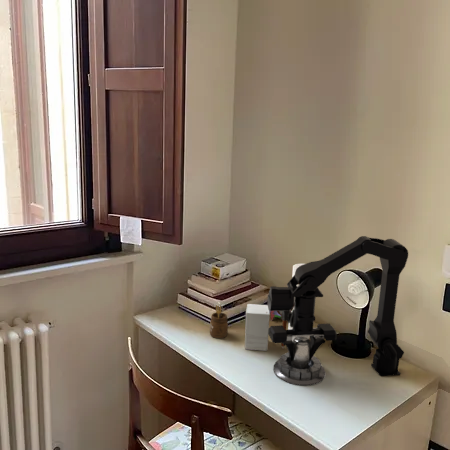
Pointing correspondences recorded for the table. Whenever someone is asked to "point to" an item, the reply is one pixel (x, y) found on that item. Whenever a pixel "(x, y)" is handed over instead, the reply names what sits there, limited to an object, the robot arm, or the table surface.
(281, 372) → the ring collar
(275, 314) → the geometric puzzle
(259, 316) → the supplement box
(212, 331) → the utensil holder
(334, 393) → the table surface
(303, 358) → the cylinder
